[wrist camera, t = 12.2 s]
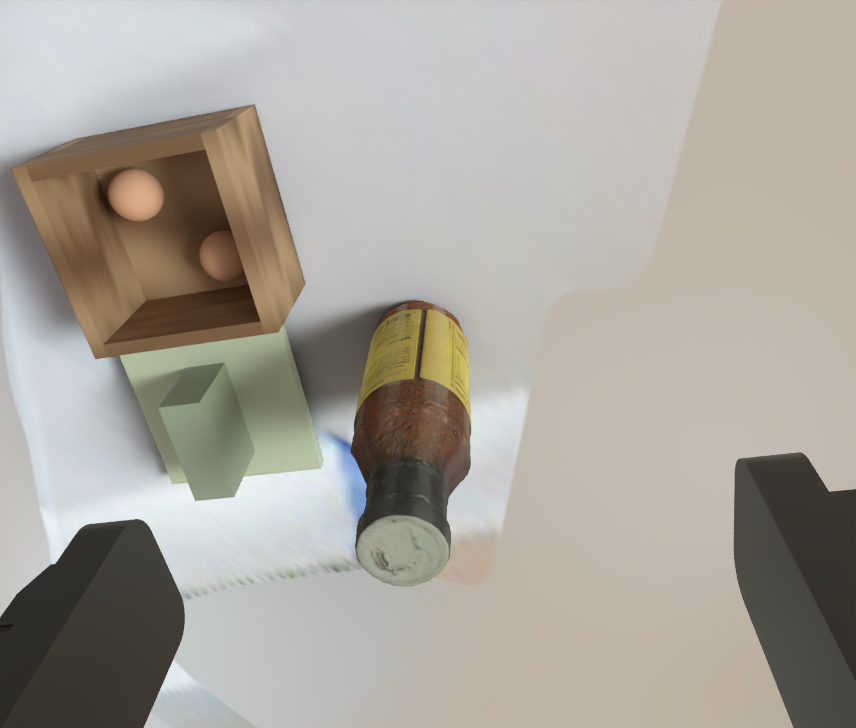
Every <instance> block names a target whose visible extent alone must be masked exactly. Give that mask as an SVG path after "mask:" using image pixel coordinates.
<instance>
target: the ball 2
mask: <svg viewBox="0 0 856 728" xmlns="http://www.w3.org/2000/svg"><path fill="white" fill-rule="evenodd" d="M200 262H201V265H202V267H203V269H204V270H205V271H206V273H207V274H208V275H210V276H211V277H212V278H214V279H217V280H220V281H227V282H228V281H234V280H237V279H239V278H241V277H242V276H243V275H244V274H245V271H244V268H243V265H242V262H241V259H240V255H239V252H238V249H237V246H236V243H235V240H234V237H233V234H232V231H228V230H221V231H217V232H214V233H212V234H210V235H209V236H208V237H207V238H206V239H205V240H204V242H203V243H202V245H201V248H200Z"/></svg>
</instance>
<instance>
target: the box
mask: <svg viewBox="0 0 856 728" xmlns="http://www.w3.org/2000/svg"><path fill="white" fill-rule="evenodd" d="M127 168H141V169H144V170H147V171H148V172H150V173H152V174H153V175H154V176H155V177H156V178H157V179H158V180H159V182H160V183H161V185H162V188H163V191H164V202H163V206H162V208H161V210H160V211H159V212H158V213H157V215H155V216H154V217H152V218H151V219H149V220H145V221H131V220H128V219H125V218H123V217H122V216H120V215H119V214H118V213H117V212H116V211H115V210H114V209H113V207H112V206H111V204H110V201H109V197H108V188H109V184H110V182H111V180H112V178H113V177H114V176H115V175H116V174H117V173H118V172H120V171H122V170H124V169H127ZM11 170H12V173H13V175H14V177H15V179H16V182H17V184H18V186H19V188H20V191H21V193H22V195H23V197H24V200H25V202H26V204H27V206H28V209H29V211H30V213H31V215H32V218H33V220H34V222H35V224H36V227H37V229H38V231H39V233H40V236H41V238H42V240H43V242H44V245H45V247H46V249H47V251H48V254H49V256H50V258H51V260H52V263H53V265H54V267H55V269H56V272H57V274H58V276H59V278H60V281H61V283H62V285H63V287H64V290H65V292H66V294H67V296H68V299H69V301H70V303H71V305H72V308H73V310H74V312H75V314H76V317H77V319H78V321H79V323H80V326H81V328H82V330H83V332H84V335H85V337H86V339H87V341H88V344H89V346H90V348H91V350H92V353H93V355H94V357H95V359H99V358H106V357H113V356H120V355H127V354H134V353H141V352H147V351H154V350H161V349H168V348H175V347H182V346H189V345H196V344H203V343H209V342H216V341H223V340H230V339H237V338H244V337H251V336H258V335H265V334H271V333H278V332H279V331H280V329H281V327H282V325H283V324H284V322H285V320H286V318H287V316H288V314H289V313H290V311H291V309H292V307H293V305H294V303H295V302H296V300H297V298H298V296H299V294H300V292H301V291H302V289H303V287H304V285H305V281H304V277H303V274H302V270H301V267H300V263H299V259H298V256H297V252H296V249H295V245H294V242H293V238H292V235H291V231H290V228H289V224H288V221H287V217H286V214H285V210H284V207H283V203H282V199H281V196H280V192H279V189H278V185H277V182H276V178H275V175H274V171H273V168H272V164H271V161H270V157H269V154H268V150H267V147H266V143H265V140H264V136H263V132H262V129H261V125H260V122H259V118H258V115H257V111H256V108H255V105H250V106H245V107H239V108H234V109H229V110H224V111H219V112H213V113H208V114H203V115H198V116H193V117H187V118H182V119H177V120H172V121H167V122H161V123H156V124H151V125H146V126H141V127H136V128H130V129H125V130H120V131H115V132H110V133H104V134H99V135H94V136H89V137H84V138H78V139H75V140H73V141H71V142H69V143H66V144H64V145H62V146H60V147H58V148H55V149H53V150H51V151H49V152H47V153H44V154H42V155H40V156H38V157H36V158H33V159H31V160H29V161H27V162H25V163H23V164H20V165H18V166H16V167H14V168H12V169H11ZM221 230H228V231H232V234H233V237H234V240H235V243H236V246H237V249H238V252H239V255H240V259H241V262H242V265H243V268H244V271H245V274H244V275H243V276H242V277H241V278H239V279H237V280H234V281H228V282H227V281H220V280H217V279H214V278H212V277H211V276H210V275H208V274H207V273H206V271H205V270H204V269H203V267H202V265H201V262H200V248H201V245H202V243H203V242H204V240H205V239H206V238H207V237H208V236H209V235H210V234H212V233H214V232H217V231H221Z"/></svg>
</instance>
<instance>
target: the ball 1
mask: <svg viewBox="0 0 856 728" xmlns="http://www.w3.org/2000/svg"><path fill="white" fill-rule="evenodd" d="M108 197H109V201H110V204H111V206H112V207H113V209H114V210H115V211H116V212H117V213H118V214H119V215H120V216H122V217H123V218H125V219H128V220H131V221H145V220H149V219H151V218H152V217H154V216H155V215H157V213H158V212H159V211H160V210H161V208H162V206H163V202H164V191H163V188H162V185H161V183H160V182H159V180H158V179H157V178H156V177H155V176H154V175H153V174H152V173H150V172H148V171H147V170H144V169H141V168H127V169H124V170H122V171H120V172H118V173H117V174H116V175H115V176H114V177H113V178H112V180H111V182H110V184H109V188H108Z"/></svg>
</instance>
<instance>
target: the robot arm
mask: <svg viewBox="0 0 856 728" xmlns="http://www.w3.org/2000/svg"><path fill="white" fill-rule="evenodd" d="M734 499H735V502H734V504H735V505H734V559H735V567H736V573H737V579H738V583H739V587H740V591H741V594H742V597H743V600H744V603H745V605H746V608H747V610H748V613H749V616H750V618H751V621H752V623H753V626H754V628H755V630H756V633H757V635H758V639H759V641H760V644H761V646H762V649H763V651H764V654H765V656H766V659H767V661H768V664H769V666H770V669H771V671H772V674H773V676H774V679H775V681H776V684H777V687H778V689H779V692H780V694H781V697H782V699H783V702H784V704H785V707H786V709H787V712H788V715H789V717H790V720H791V722H792V725H793V727H794V728H856V489H854V490H843V491H833V492H829V491H828V489H827V488H826V486H825V485H824V483H823V481H822V480H821V478H820V477H819V475H818V473H817V472H816V470H815V469H814V467H813V466H812V464H811V463H810V461H809V459H808V458H807V457H806V456H805V455H804V454H803V453H790V454H780V455H770V456H760V457H752V458H741V459H738V460H737V463H736V467H735V498H734ZM184 621H185V613H184V605H183V600H182V597H181V595H180V592H179V590H178V588H177V586H176V584H175V581H174V579H173V577H172V575H171V573H170V570H169V568H168V566H167V564H166V562H165V560H164V557H163V555H162V553H161V551H160V549H159V546H158V544H157V542H156V540H155V538H154V536H153V533H152V531H151V529H150V528H149V526H148V525H147V524H146V523H145V522H144V521H142V520H138V519H135V520H125V521H116V522H106V523H96V524H89V525H86V526H84V527H82V528H81V529H80V530H79V531H78V532H77V534H76V535H75V536H74V538H73V539H72V541H71V542H70V544H69V545H68V547H67V548H66V549H65V551H64V552H63V554H62V555H61V557H60V558H59V560H58V561H57V562H56V564H52V565H50V566H49V567H47V569H45V570H44V571H43V572H42V573H41V574H39V575H38V576H37V577H36V578H35V579H34V580H33V581H32V582H30V583H29V584H28V585H27V586H26V587H25V588H23V589H22V590H21V591H20V592H19V593H18V594H17V595H16V596H15V598H14V599H13V600H12V602H11V603H10V605H9V606H8V607H7V609H6V610H5V612H4V613H3V614H2V616H1V617H0V728H143V727H144V725H145V723H146V721H147V718H148V716H149V714H150V711H151V709H152V707H153V705H154V702H155V700H156V698H157V695H158V693H159V691H160V688H161V686H162V684H163V682H164V679H165V677H166V675H167V672H168V670H169V668H170V666H171V663H172V661H173V659H174V656H175V654H176V651H177V649H178V647H179V645H180V642H181V639H182V636H183V631H184V623H185V622H184Z"/></svg>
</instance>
